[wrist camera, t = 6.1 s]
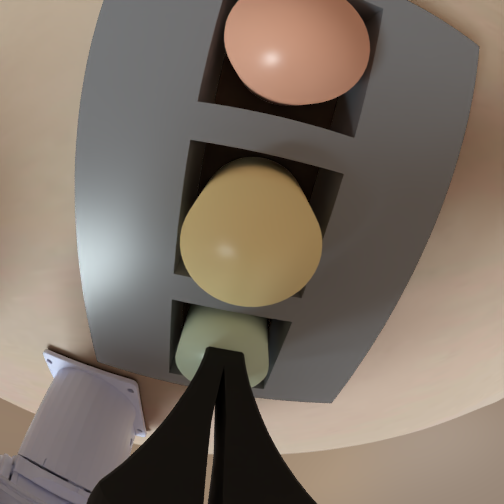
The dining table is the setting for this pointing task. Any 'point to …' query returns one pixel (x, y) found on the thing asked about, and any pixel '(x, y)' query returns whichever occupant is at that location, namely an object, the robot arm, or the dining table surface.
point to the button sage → (223, 340)
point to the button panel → (268, 142)
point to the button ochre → (251, 235)
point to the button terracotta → (297, 49)
